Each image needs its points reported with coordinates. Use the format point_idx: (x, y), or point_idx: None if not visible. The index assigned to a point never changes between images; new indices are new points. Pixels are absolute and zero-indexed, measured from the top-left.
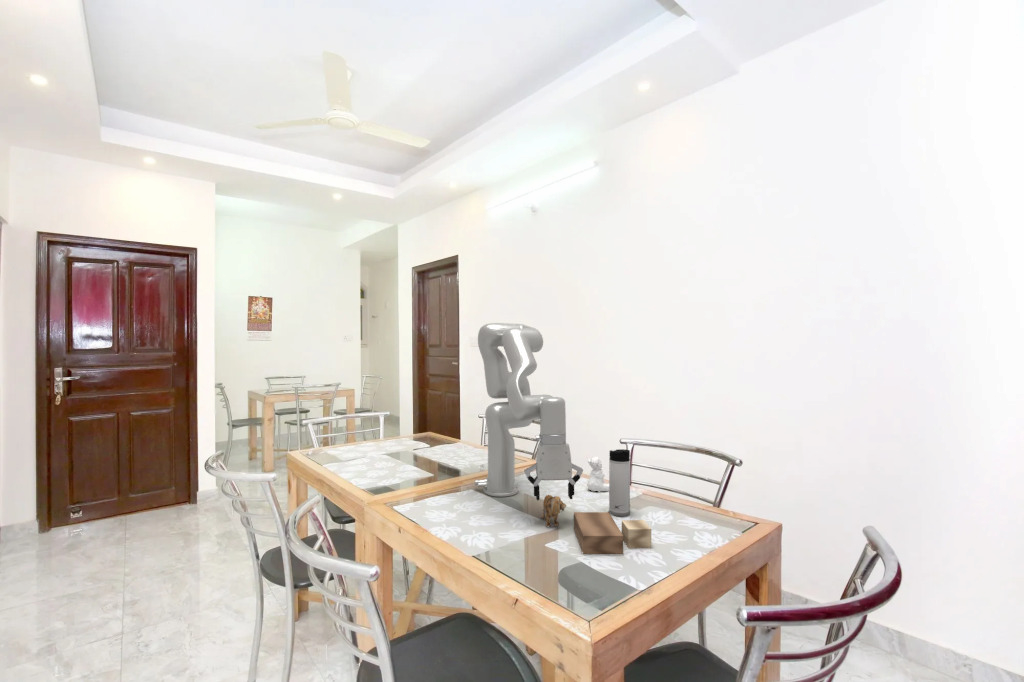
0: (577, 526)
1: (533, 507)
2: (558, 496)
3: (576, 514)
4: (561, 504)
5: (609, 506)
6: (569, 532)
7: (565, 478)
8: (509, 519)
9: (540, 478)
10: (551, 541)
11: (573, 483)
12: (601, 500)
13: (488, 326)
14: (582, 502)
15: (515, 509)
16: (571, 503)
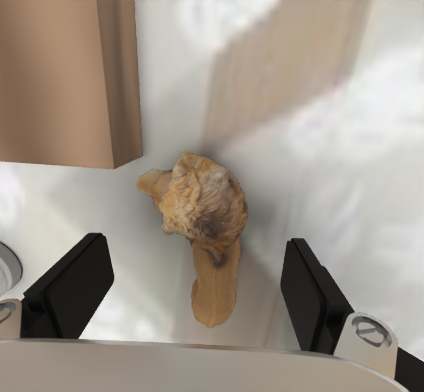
0: (113, 40)
1: (251, 324)
2: (169, 217)
3: (102, 138)
4: (163, 173)
5: (1, 280)
6: (162, 121)
7: (5, 348)
8: (354, 248)
9: (390, 381)
10: (246, 30)
11: (1, 315)
12: None
13: None
14: None
15: None
16: (133, 337)
